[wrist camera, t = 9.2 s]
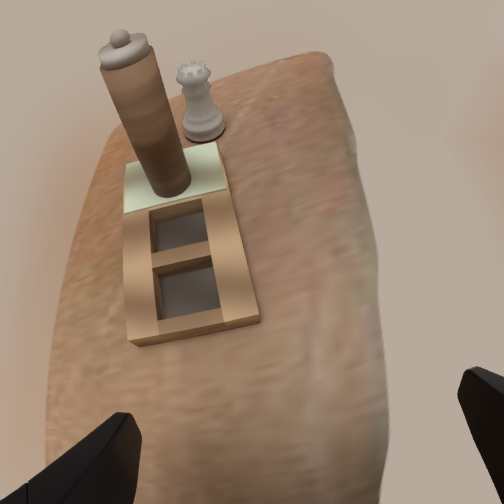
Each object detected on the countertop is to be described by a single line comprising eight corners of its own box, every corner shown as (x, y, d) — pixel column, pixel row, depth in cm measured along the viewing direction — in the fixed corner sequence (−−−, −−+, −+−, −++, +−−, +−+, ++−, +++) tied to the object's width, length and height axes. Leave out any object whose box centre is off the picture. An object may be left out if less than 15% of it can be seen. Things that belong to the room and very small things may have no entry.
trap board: (260, 322, 22) (259, 313, 20) (138, 346, 22) (126, 339, 20) (220, 156, 30) (217, 139, 28) (131, 178, 29) (124, 163, 28)
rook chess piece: (178, 143, 31) (159, 80, 24) (191, 117, 33) (177, 57, 26) (220, 145, 31) (208, 78, 24) (230, 118, 33) (221, 55, 26)
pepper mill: (193, 192, 25) (144, 30, 13) (153, 202, 25) (84, 51, 13) (189, 163, 27) (147, 14, 14) (152, 172, 27) (95, 31, 14)
